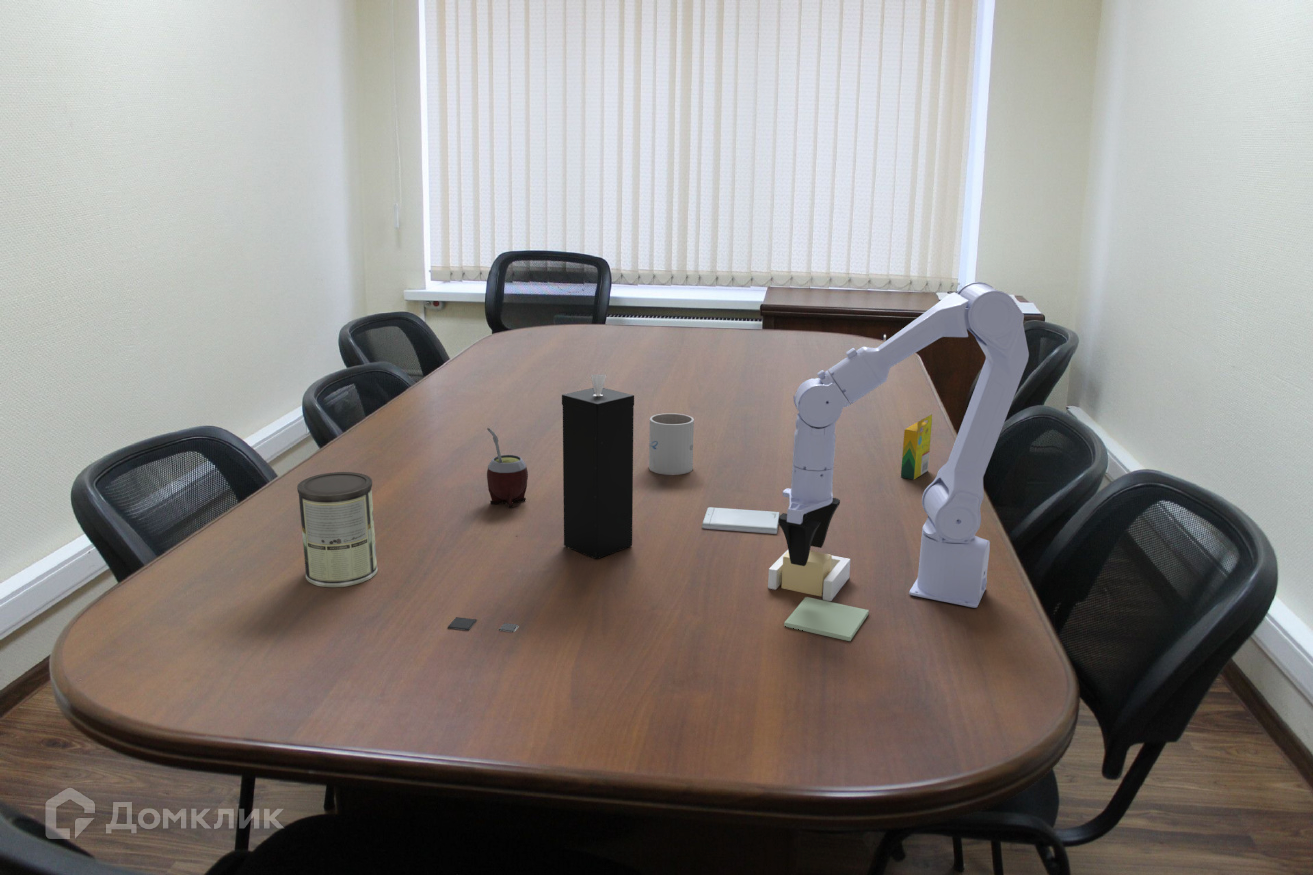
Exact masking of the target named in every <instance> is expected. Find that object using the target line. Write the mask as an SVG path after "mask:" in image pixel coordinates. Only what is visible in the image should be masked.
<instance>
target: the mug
mask: <svg viewBox="0 0 1313 875" xmlns="http://www.w3.org/2000/svg"><path fill="white" fill-rule="evenodd" d="M694 425H695V419H694V417H693V416H690V415H687V414H683V413H675V412H673V413H672V412H671V413H669V412H668V413H665V412H664V413H659V414H658V413H657V414H655V415H651V416H650V417H649V437H648V440H649V443H648V445H649V446H648V447H649V448H648V450H649V452H648V453H649V454H648V455H649V456H648V469H649V470H650V471H651V472H653V473H656V474H660V475H666V476H668V475H669V476H675V475H676V476H678V475H683V474H684V475H685V474H688V473H690V472H692V470H693V465H694V431H695V429H694V427H695V426H694Z"/></svg>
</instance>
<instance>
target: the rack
mask: <svg viewBox="0 0 1313 875" xmlns="http://www.w3.org/2000/svg"><path fill="white" fill-rule="evenodd" d="M787 552H788V549H787V550H786V551H785V552H784V553H783V554H782V555H781V556H780V557H779V558H778V559H777V560H776V561H775V562H774V563H773V564H772V565H771V566H770V567H769V568H768V581H767V583H768V584H767V589H770V590H771V589H772V590H777V589H778V588H779V587H780V586H782V569H783V556H784V555H785V554H786V553H787ZM851 559H852V558H846V557H841V556H837V555H832V561H831V572H830V573H829V575H828V576H827V577H826V578H825V579H824V586H823V595H822V600H823V601H828V602H832V601H833V599H834V598H835V597H836V595H837V594H838V593H839V591H840V590H841V589H842V587H844V585H845V584H846V582H848V580H849V579H850V574H851V573H850V571H851V570H850V569H851Z"/></svg>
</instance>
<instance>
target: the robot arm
mask: <svg viewBox="0 0 1313 875" xmlns="http://www.w3.org/2000/svg"><path fill="white" fill-rule="evenodd" d="M1024 318H1025V315H1024V313H1023V311H1022V310H1021V309H1020V307H1019V305H1018V304H1017V303H1016V301H1015V300H1014V298H1012V296H1010V294H1008V293H1007V292H1004V291H1000V290H997V288H994V287H993V286H992V285H990V284H988V283H987V282H983V281H972V282H969V283H967V284H965V285H963V286H962V287H961V288H959V290H958V291H957V292H956V291H954V292H952V293H949V294H947V295H945V296H944V297H943V298H942V299H941V300H940V301H938V302H937V303H935V304H934V305H933V306H932V307H930V308H929V309H928V310H926V311H924V312H923V313H922V314H921V315H920V316H918V317H917V318H915V319H914V320H912V321H911V322H910V323H908V324H907V325H906V326H905V327H904V328H903V327H902V328H901V330H899V331H898V332H896V333H894V335H892V336H891V337H890V338H888V339H887V340H885V341H884V342H882V343H881V344H880V345H879V346H877V347H868V346H861V347H860V348H858V349H857V350H856V349H855V347H852V348H851V349H849V350H846V351H845V354H846V356H847V357H845V358H843V359H841V361H839V362H838V363H836V364H834V365H833V366H831V367H830V368H828V369H827V370H825V371H824V369H822V370H819V372H816V375H817V377H818V378H817V377H815V378H810V379H807V380H805V381H803V382H802V383H801V384H800V385H799V386H797V387H798V388H797V390H796V392H795V395H794V396H793V403H794V406H795V408H796V409H797V411H798V413H796V420H795V430H794V437H793V449H792V450H793V451H792V452H793V453H792V467H791V468H792V470H791V482H790V484H791V486H790V488H788V487H787V488H785V489H784V490H782V497H784V498H788V501H789V506H788V508H787V510H786V511H787V512H786V513H785V512H782V513H781V514H780V516H779V524H778V526H780V528H781V530H782V532H783V534H784V537H785V541H786V546H787V550H788V551H789V557H790V561H791V564H795V565H800V566H805V565H806V563H807V561H808V557H809V553H810V551H811V547H814V548H819V549H821V548H823V546H824V544H825V540H826V538H827V535H828V530H829V527H830V524H831V521H832V519H833V517H834V515H835V512H836V510H837V509H838V507H839V506H840V504H841V499H839V498H836V497H834V496H833V494H834V493H833V483H834V481H833V479H834V468H835V467H834V465H835V455H836V454H835V452H836V438H837V436H836V424H837V421H838V420H839V419H840V418H841V415H842V412H843V409H844V408H847V407H850V406H851V405H853V404H854V403H856V402H858V401H859V400H860V399H861V398H863V397H865V396H867V395H868V394H869V393H870V392H872V391H873V390H875V389H877V388H878V387H879V386H881V385H883V384H884V383H886V382H887V380H888V376H889V373H890V369H891V368H892V367H894V366H895V365H897V364H899V363H901V362H902V361H904V360H906V359H908V358H910V357H911V356H912V355H914V354H916V353H917V352H919V351H921V350H922V349H924V348H926V347H928V346H929V345H931V344H932V343H934V342H936V341H937V340H939V339H941V338H944V337H945V338H968V337H969V334H968V331H969V332H970V333H971V334H972V335H973V336H974V337H975V340H976V342H977V343H978V345H979V347H980V349H981V351H982V352H983V354H984V356H985V359H984V363H983V365H982V368H981V371H980V374H979V376H978V379H977V382H976V384H975V387H974V390H973V393H972V395H971V398H970V400H969V403H968V405H967V406H968V407H967V409H966V412H965V414H964V416H963V418H962V422H961V425H960V427H959V430H958V433H957V435H956V439H955V441H954V444H953V447H952V450H951V452H950V454H949V457H948V459H947V462H946V463H945V464H944V465H942V466H941V467H940V468H939V469H938V472H937V473H936V476H935V478H934V480H933V481H932V482H931V483H930V484H929V485H927V487H926V488H925V489H924V491H923V493H922V497H921V505H922V508H923V510H924V512H925V513H926V514H927V518H926V520H925V523H924V524H923V525H922V528H921V529H922V531H921V539H920V550H919V561H918V562H919V564H918V569H917V570H918V571H917V578H916V580H915V582H914V583H913V585H912V587H911V588H910V590H909V593H908V594H909V595H910V596H912V597H913V596H914V597H919V598H924V599H929V600H934V601H937V602H944V603H949V604H952V605H959V606H964V607H967V608H974V609H975V608H978V606H979V604H980V602H981V599H982V597H983V595H984V593H985V591H986V588H987V584H988V578H987V576H988V568H989V561H990V560H989V559H990V552H991V551H990V547H991V546H990V545H991V544H990V543H991V542H990V541H991V540H988V539H985V538H983V537H979V536H977V535H976V533H977V532H978V531H979V529H980V527H981V524H982V515H981V505H982V502H983V500H984V496H985V495H984V476H985V474H986V471H987V468H988V465H989V463H990V460H991V458H992V456H993V452H994V450H995V448H996V444H997V442H998V440H999V437H1000V435H1001V434H1000V433H1001V431H1002V429H1003V427H1004V424H1005V421H1006V419H1007V416H1008V413H1009V411H1010V408H1011V406H1012V403H1013V400H1014V399H1015V395H1016V393H1017V390H1018V387H1019V385H1020V382H1021V380H1022V377H1023V374H1024V371H1025V369H1026V367H1027V364H1028V362H1029V357H1030V352H1029V348H1028V343H1027V337H1026V333H1025V327H1024Z"/></svg>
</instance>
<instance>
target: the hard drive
mask: <svg viewBox="0 0 1313 875" xmlns="http://www.w3.org/2000/svg"><path fill="white" fill-rule="evenodd" d="M780 515H781V514H780V511H769V510H768V511H767V510H755V509H754V510H753V509H752V510H751V509H739V508H726V507H711V506H710V507H707V509H706V513H705V515H704V519H703V521H702V524H701V525H702V526H701V528H702V529H708V530H720V531H731V532H733V531H734V532H748V533H759V534H760V533H761V534H774V535H777V534H778V530H779V529H778V528H779V516H780Z"/></svg>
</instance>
